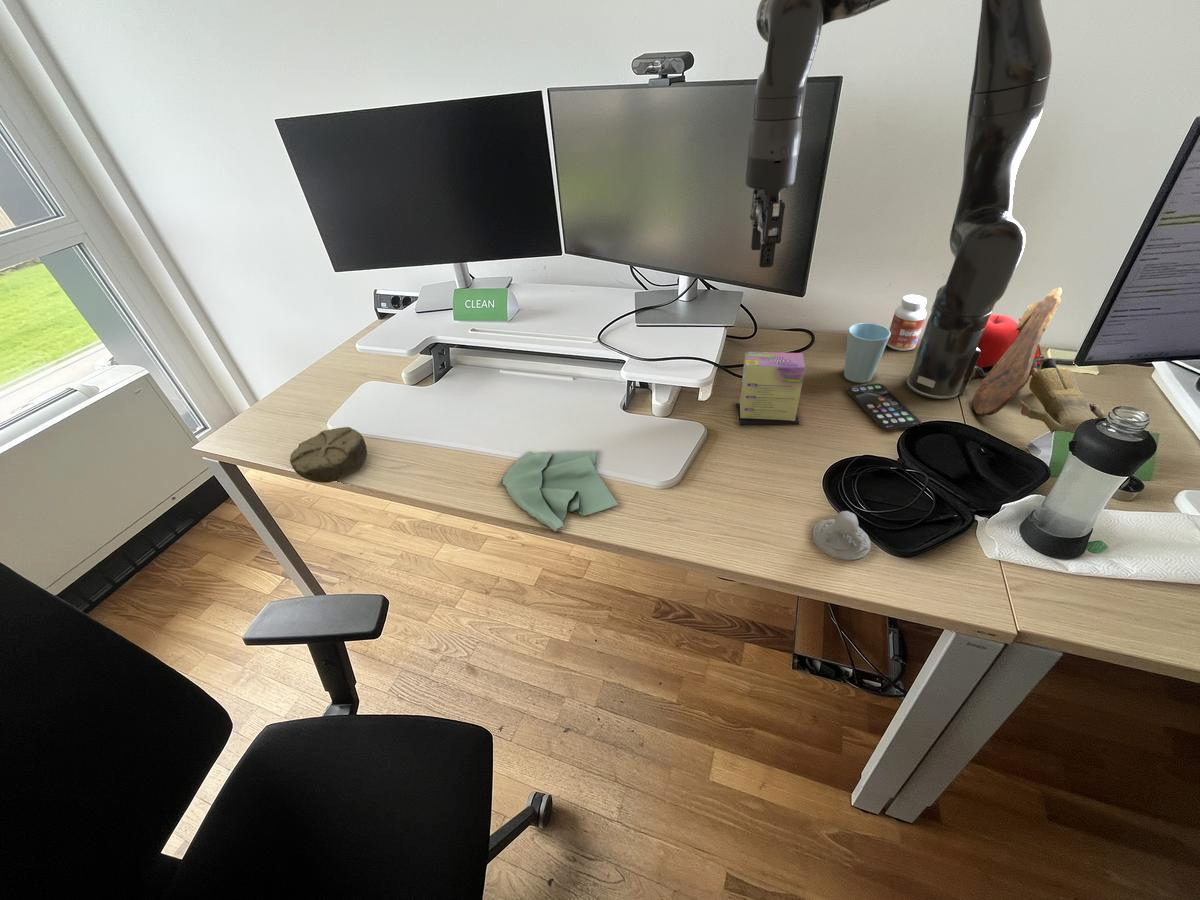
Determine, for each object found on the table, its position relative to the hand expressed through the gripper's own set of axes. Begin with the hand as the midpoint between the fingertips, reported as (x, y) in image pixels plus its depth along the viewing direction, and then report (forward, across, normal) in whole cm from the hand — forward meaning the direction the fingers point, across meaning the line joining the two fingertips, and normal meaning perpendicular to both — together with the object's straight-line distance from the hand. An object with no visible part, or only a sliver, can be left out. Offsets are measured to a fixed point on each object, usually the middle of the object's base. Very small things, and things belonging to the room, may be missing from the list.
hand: (761, 257), depth 91 cm
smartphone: (+29, +5, +25) cm, 39 cm away
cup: (+29, -7, +24) cm, 38 cm away
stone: (+22, +21, -80) cm, 86 cm away
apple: (+29, -10, +50) cm, 58 cm away
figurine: (+24, +1, +53) cm, 58 cm away
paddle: (+27, +10, +41) cm, 50 cm away
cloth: (+29, +27, -36) cm, 53 cm away
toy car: (+23, -9, +59) cm, 64 cm away
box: (+28, +6, +3) cm, 29 cm away
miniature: (+29, +39, +8) cm, 49 cm away
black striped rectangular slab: (+29, +6, +3) cm, 30 cm away
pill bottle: (+29, -20, +38) cm, 51 cm away
